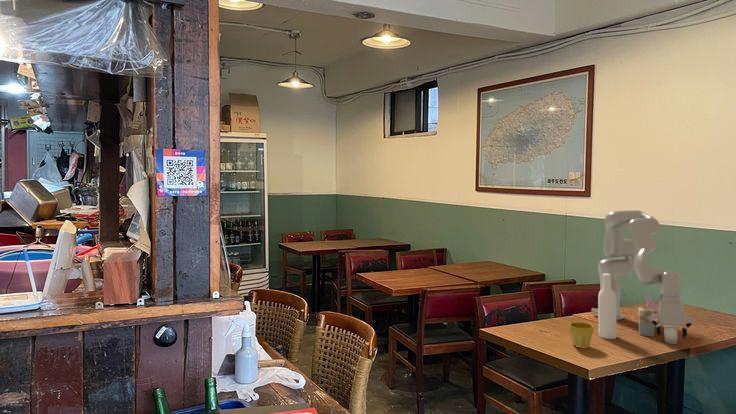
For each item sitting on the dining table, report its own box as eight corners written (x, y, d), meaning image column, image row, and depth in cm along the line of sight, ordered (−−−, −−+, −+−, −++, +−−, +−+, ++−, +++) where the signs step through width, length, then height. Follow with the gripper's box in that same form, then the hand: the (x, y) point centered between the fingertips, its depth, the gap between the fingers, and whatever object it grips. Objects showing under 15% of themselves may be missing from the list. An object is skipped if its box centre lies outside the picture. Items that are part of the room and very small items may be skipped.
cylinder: (665, 343, 228) (664, 328, 228) (663, 339, 233) (663, 324, 233) (678, 344, 226) (678, 329, 226) (676, 340, 231) (676, 325, 231)
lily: (647, 316, 274) (657, 302, 272) (630, 304, 284) (639, 290, 281) (659, 319, 280) (669, 305, 278) (642, 307, 290) (651, 293, 287)
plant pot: (599, 348, 225) (598, 326, 225) (579, 351, 222) (579, 329, 222) (583, 341, 235) (582, 320, 235) (564, 344, 232) (563, 323, 232)
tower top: (639, 322, 241) (639, 310, 240) (638, 319, 246) (638, 307, 246) (654, 323, 238) (654, 311, 238) (652, 320, 244) (652, 308, 243)
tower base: (639, 335, 241) (639, 322, 241) (638, 331, 246) (638, 319, 246) (654, 336, 238) (654, 323, 238) (653, 332, 244) (652, 320, 244)
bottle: (609, 340, 235) (608, 276, 233) (594, 336, 242) (593, 273, 240) (620, 337, 239) (619, 274, 237) (605, 333, 246) (605, 271, 244)
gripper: (649, 299, 229) (650, 336, 229) (694, 301, 221) (695, 340, 222) (648, 295, 235) (648, 332, 236) (691, 298, 228) (692, 335, 229)
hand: (671, 336), depth 229 cm, fingers open, 9 cm apart
